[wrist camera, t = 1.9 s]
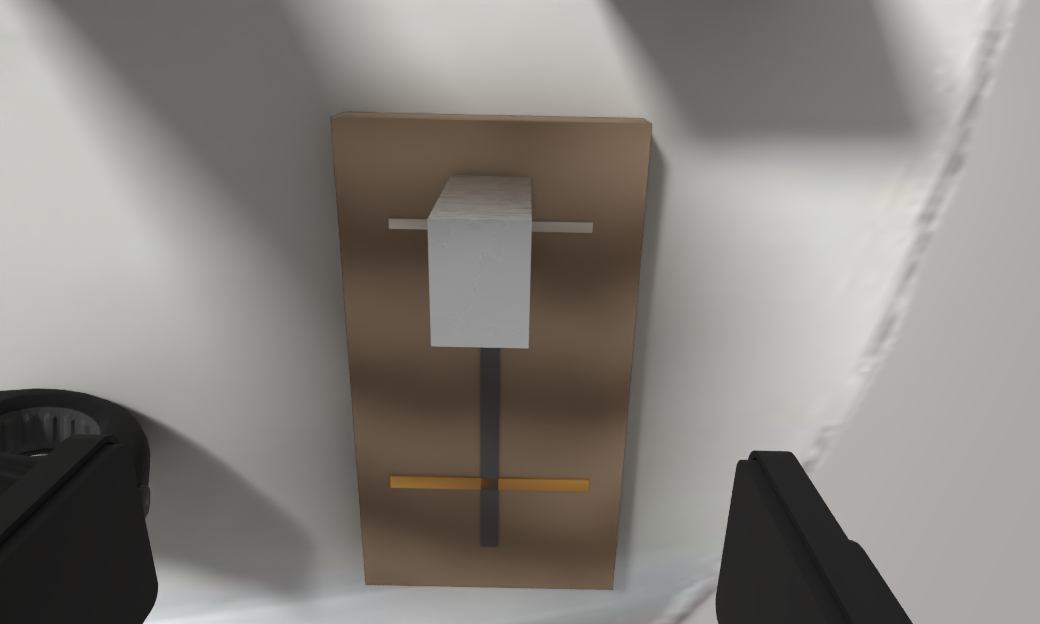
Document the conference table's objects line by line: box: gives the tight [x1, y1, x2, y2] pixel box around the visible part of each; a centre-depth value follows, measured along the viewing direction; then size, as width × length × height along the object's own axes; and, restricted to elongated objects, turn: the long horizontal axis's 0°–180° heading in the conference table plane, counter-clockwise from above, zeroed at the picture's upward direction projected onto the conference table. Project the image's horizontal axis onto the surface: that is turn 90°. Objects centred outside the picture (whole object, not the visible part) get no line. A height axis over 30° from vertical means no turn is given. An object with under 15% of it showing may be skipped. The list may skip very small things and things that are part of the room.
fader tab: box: [427, 175, 532, 348], centre depth 24 cm, size 4×3×7 cm
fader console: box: [331, 112, 652, 590], centre depth 31 cm, size 22×12×2 cm, turn 179°
